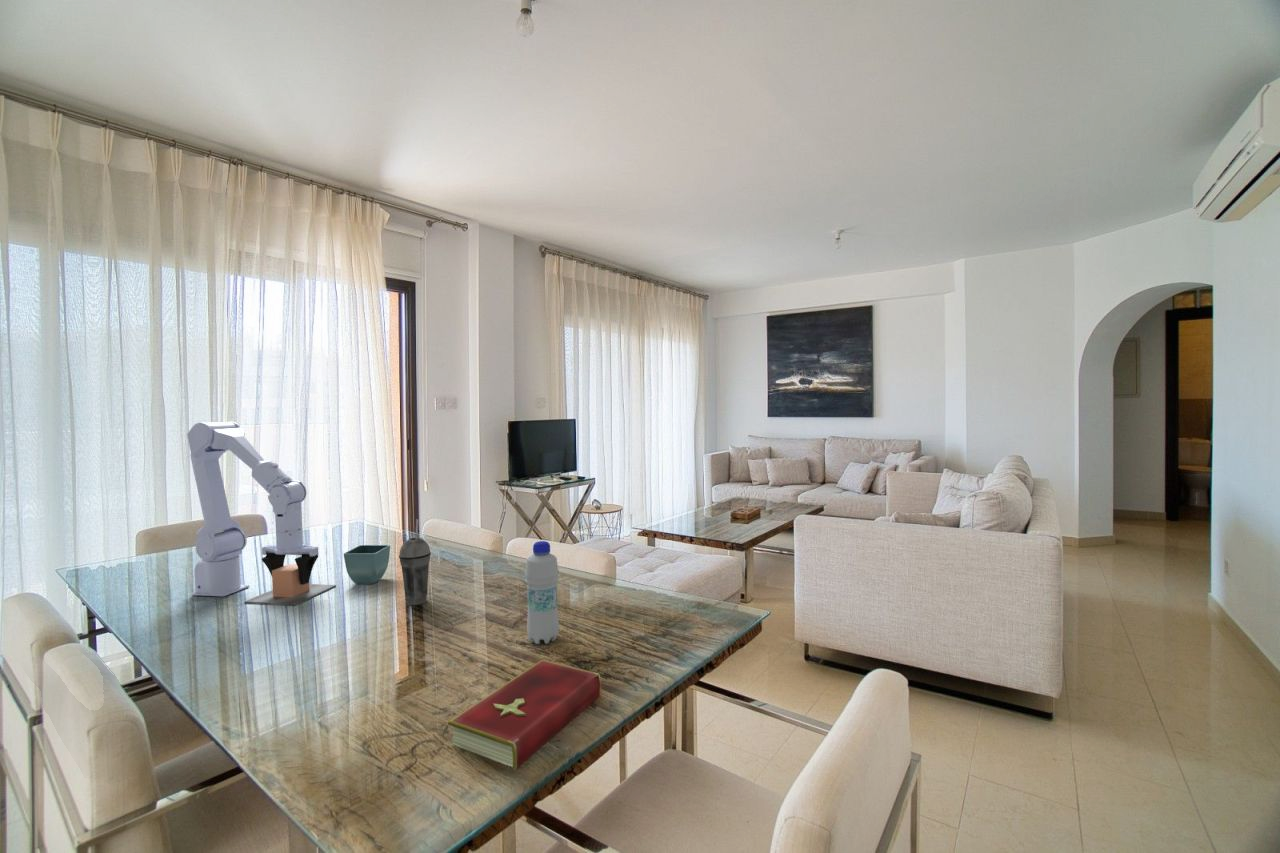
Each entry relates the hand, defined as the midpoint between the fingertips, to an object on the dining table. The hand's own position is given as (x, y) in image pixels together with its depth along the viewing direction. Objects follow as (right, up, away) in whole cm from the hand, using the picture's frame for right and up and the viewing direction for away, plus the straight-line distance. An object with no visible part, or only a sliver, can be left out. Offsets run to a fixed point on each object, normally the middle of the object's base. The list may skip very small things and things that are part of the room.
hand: (291, 582), depth 142 cm
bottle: (+69, -3, -30) cm, 75 cm away
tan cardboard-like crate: (0, -3, 0) cm, 3 cm away
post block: (0, -3, 0) cm, 3 cm away
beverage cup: (+34, -3, -7) cm, 35 cm away
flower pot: (+15, -3, +10) cm, 18 cm away
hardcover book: (+72, -5, -58) cm, 93 cm away
